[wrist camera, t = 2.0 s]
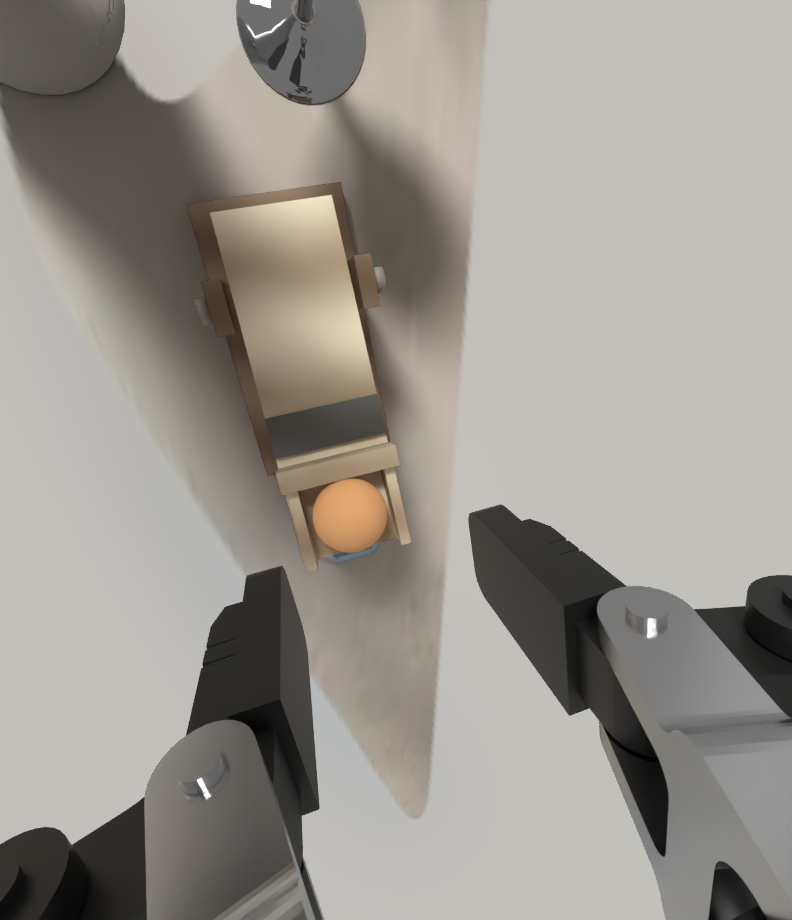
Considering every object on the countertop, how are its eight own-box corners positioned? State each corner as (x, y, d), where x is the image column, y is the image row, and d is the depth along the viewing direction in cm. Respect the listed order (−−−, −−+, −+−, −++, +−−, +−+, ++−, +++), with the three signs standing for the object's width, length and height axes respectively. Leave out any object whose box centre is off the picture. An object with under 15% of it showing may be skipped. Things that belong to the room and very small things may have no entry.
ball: (303, 526, 22) (306, 559, 19) (320, 461, 22) (327, 485, 18) (368, 538, 24) (382, 571, 20) (387, 476, 23) (404, 501, 20)
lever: (215, 223, 21) (199, 191, 18) (330, 206, 22) (334, 172, 19) (303, 556, 24) (303, 577, 21) (404, 528, 25) (418, 544, 22)
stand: (189, 207, 26) (146, 158, 18) (338, 186, 28) (362, 131, 19) (268, 471, 32) (262, 525, 24) (387, 441, 34) (422, 483, 25)
